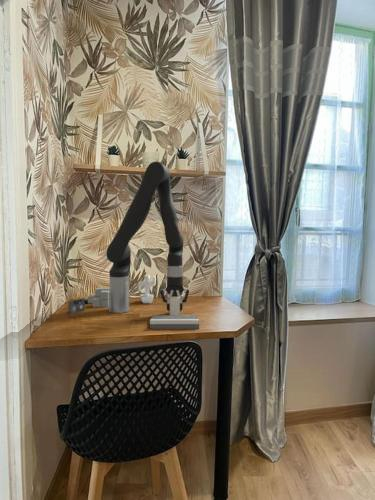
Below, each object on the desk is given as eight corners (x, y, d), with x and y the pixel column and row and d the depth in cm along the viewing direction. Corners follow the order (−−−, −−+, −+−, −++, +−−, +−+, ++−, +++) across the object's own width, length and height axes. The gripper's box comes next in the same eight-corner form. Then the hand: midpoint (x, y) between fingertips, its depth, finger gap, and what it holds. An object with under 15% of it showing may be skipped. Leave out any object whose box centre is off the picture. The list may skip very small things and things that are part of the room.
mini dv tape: (82, 310, 153) (82, 298, 152) (84, 310, 152) (84, 298, 151) (68, 313, 146) (68, 301, 145) (70, 314, 145) (70, 301, 144)
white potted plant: (138, 300, 172) (138, 274, 171) (155, 300, 173) (155, 273, 172) (138, 304, 165) (138, 276, 164) (156, 303, 166) (156, 275, 165)
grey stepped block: (89, 301, 169) (89, 287, 169) (111, 301, 171) (111, 287, 170) (84, 307, 157) (83, 292, 157) (108, 307, 159) (108, 292, 158)
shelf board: (150, 328, 126) (150, 320, 125) (152, 319, 137) (152, 311, 137) (199, 328, 126) (199, 320, 126) (197, 319, 138) (197, 311, 138)
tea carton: (169, 316, 142) (169, 297, 142) (169, 312, 149) (169, 294, 149) (179, 316, 143) (179, 297, 142) (179, 312, 150) (179, 294, 149)
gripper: (159, 276, 140) (159, 313, 142) (190, 276, 141) (190, 313, 142) (159, 273, 148) (159, 308, 149) (189, 273, 148) (189, 308, 150)
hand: (174, 310), depth 146 cm, fingers closed on tea carton, 4 cm apart
